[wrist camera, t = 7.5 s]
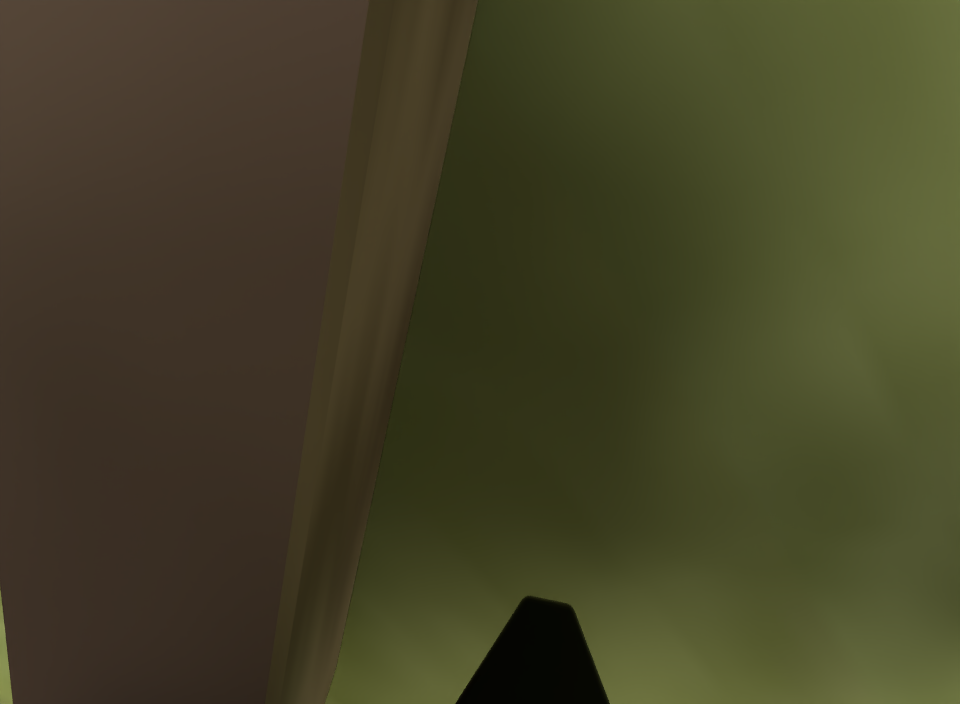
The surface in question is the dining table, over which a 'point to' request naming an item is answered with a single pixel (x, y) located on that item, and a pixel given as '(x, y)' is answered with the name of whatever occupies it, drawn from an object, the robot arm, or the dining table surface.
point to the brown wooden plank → (204, 329)
